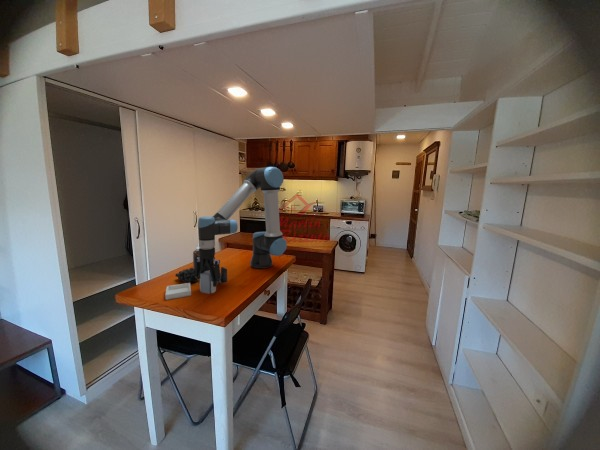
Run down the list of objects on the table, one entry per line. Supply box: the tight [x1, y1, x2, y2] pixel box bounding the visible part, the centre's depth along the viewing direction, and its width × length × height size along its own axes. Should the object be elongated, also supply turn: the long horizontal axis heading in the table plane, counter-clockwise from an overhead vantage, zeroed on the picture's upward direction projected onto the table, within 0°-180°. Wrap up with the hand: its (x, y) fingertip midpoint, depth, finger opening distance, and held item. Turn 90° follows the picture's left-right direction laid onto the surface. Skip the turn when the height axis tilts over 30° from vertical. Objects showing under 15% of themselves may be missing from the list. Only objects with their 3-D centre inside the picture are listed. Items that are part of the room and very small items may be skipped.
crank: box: [218, 266, 228, 284], centre depth 122 cm, size 12×4×8 cm, turn 48°
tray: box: [164, 282, 192, 301], centre depth 112 cm, size 11×11×2 cm
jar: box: [192, 246, 210, 272], centre depth 144 cm, size 12×12×15 cm
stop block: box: [200, 270, 212, 294], centre depth 114 cm, size 5×5×10 cm
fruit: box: [174, 267, 199, 283], centre depth 125 cm, size 9×8×15 cm
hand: (208, 290), depth 115 cm, fingers open, 6 cm apart
